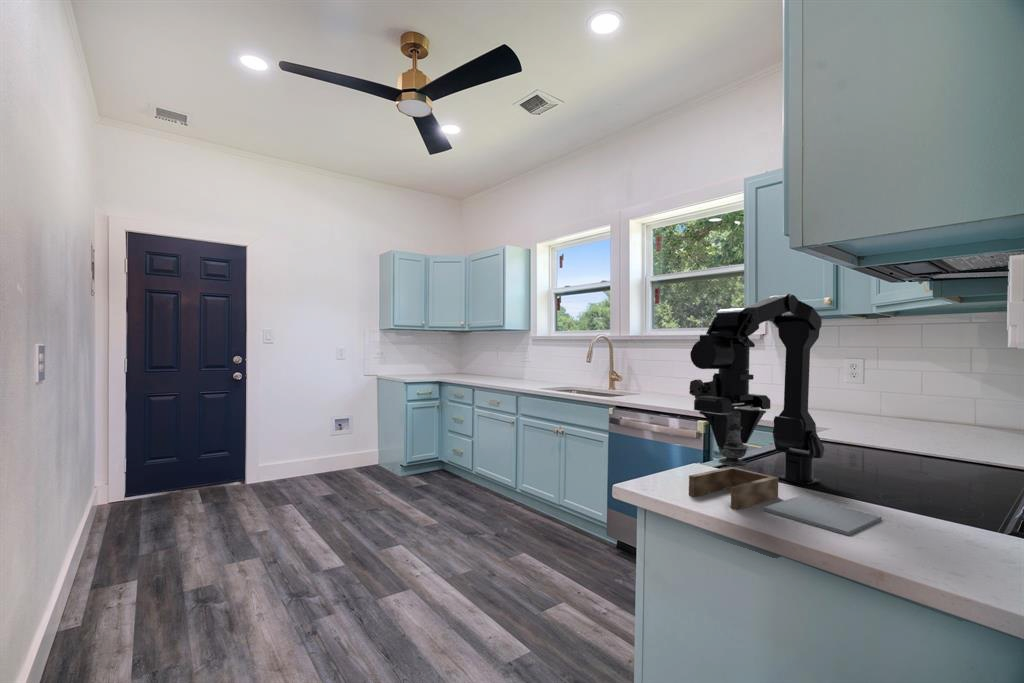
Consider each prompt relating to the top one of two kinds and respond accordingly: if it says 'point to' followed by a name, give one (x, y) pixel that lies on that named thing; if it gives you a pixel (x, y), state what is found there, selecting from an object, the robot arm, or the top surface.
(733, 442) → the grey tall turned piece
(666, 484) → the top surface
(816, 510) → the slate mat
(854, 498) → the top surface
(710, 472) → the brown wooden u-shaped frame
